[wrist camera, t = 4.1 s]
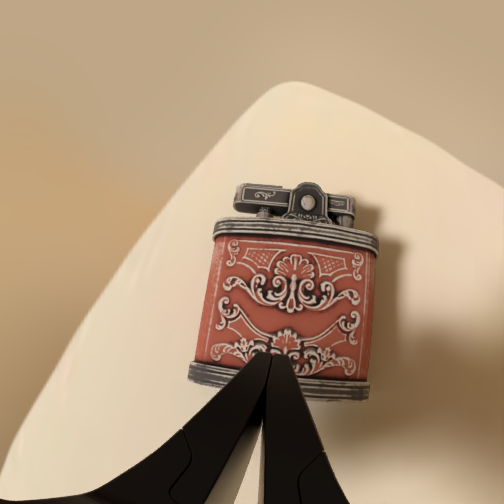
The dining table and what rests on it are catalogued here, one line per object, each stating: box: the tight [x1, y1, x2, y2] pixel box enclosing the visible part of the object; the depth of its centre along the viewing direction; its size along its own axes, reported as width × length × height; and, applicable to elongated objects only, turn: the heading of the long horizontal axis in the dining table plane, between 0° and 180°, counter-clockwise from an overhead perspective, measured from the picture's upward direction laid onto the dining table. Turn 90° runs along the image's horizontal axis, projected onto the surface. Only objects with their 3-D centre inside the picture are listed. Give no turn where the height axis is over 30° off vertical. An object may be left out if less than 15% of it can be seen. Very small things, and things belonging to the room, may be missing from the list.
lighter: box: [187, 182, 379, 402], centre depth 15 cm, size 8×3×10 cm
